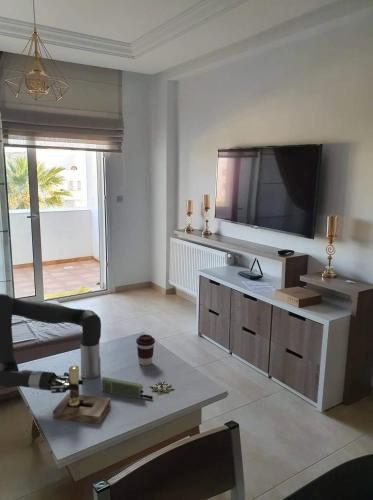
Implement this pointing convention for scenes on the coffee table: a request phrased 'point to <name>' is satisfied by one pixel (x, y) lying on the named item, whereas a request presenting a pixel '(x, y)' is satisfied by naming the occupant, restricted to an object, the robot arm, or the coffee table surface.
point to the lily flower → (161, 387)
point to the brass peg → (75, 380)
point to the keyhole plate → (83, 409)
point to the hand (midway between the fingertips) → (80, 384)
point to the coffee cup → (145, 349)
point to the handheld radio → (123, 388)
